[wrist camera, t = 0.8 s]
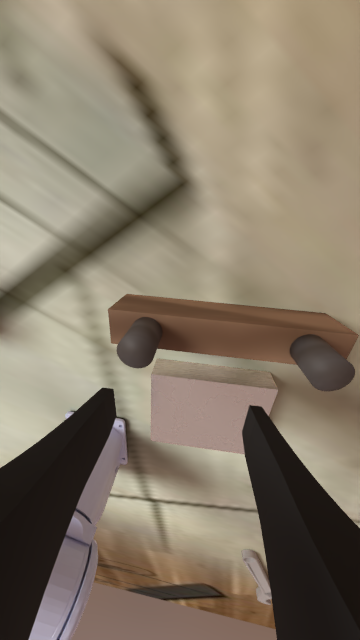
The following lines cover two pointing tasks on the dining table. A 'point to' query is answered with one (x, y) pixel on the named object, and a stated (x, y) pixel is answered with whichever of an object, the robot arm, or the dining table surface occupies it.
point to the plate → (206, 403)
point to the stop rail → (233, 335)
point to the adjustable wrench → (258, 575)
